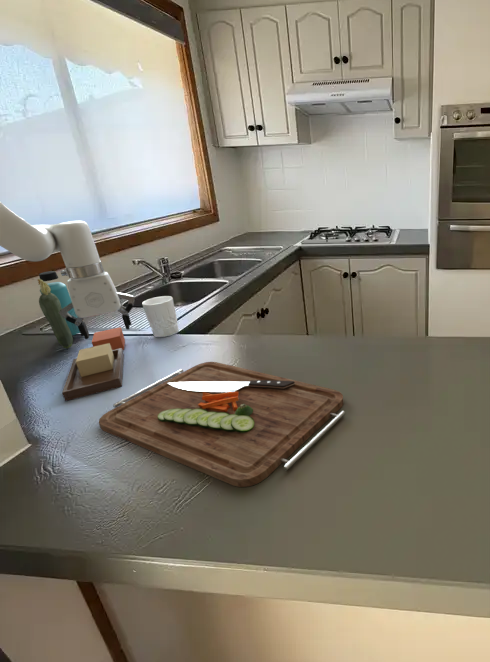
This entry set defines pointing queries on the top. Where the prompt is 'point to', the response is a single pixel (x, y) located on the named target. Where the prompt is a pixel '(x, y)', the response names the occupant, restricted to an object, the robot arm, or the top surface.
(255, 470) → the chopping board
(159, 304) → the white cup
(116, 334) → the terracotta pad
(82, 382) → the tray
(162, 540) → the top surface
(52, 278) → the beverage bottle
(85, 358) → the beige pad
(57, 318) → the vegetable
